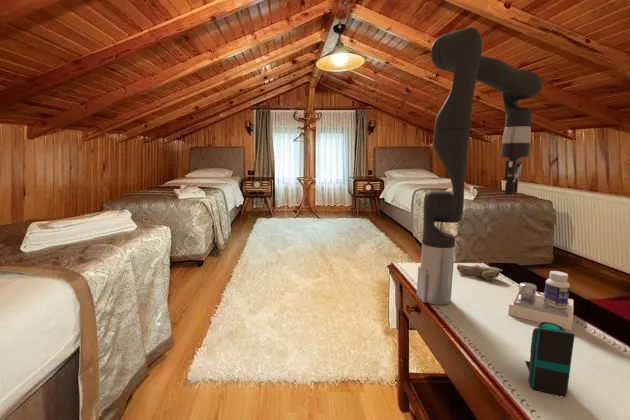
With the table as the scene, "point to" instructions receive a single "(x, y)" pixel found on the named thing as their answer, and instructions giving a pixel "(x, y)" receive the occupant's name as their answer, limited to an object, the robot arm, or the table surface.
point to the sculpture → (479, 271)
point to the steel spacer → (527, 291)
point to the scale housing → (541, 313)
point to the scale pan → (541, 306)
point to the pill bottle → (557, 290)
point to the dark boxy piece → (550, 359)
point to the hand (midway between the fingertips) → (511, 193)
